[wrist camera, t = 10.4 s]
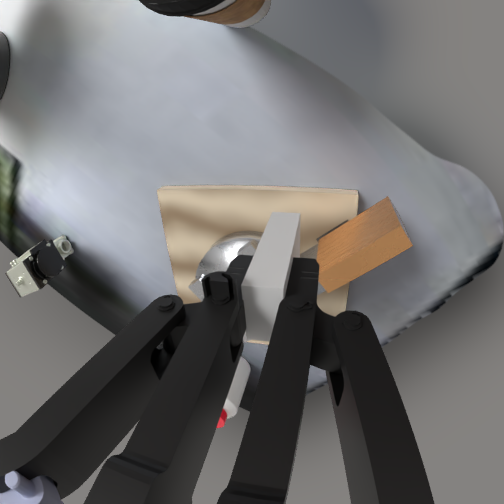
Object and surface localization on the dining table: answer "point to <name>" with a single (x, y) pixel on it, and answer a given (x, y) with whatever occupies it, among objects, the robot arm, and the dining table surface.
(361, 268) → the silver saucepan
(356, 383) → the robot arm
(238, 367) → the pill bottle
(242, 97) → the dining table surface
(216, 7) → the coffee cup
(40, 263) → the pneumatic valve
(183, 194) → the light wood square board
